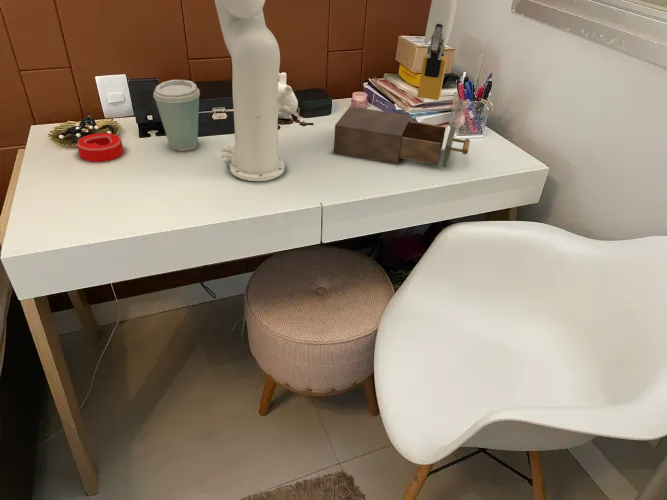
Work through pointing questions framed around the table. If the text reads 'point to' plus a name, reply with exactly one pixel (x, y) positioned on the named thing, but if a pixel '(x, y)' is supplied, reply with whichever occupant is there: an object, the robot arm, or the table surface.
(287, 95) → the white figurine
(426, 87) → the block
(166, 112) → the disposable coffee cup
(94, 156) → the decorative ornament
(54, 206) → the table surface
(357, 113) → the cabinet
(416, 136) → the drawer
